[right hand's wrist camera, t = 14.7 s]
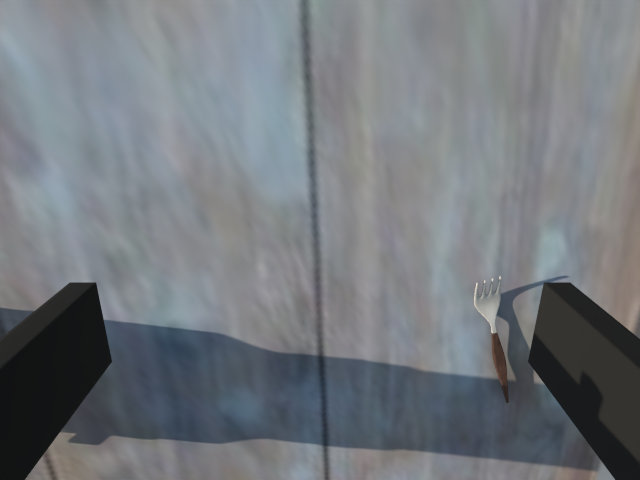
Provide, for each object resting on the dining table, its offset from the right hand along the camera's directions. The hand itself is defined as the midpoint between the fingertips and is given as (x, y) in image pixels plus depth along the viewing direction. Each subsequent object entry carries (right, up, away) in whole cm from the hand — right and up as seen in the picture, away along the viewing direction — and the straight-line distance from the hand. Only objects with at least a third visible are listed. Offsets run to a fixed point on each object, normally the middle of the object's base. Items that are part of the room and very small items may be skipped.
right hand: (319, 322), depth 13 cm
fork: (+18, -8, +31) cm, 37 cm away
